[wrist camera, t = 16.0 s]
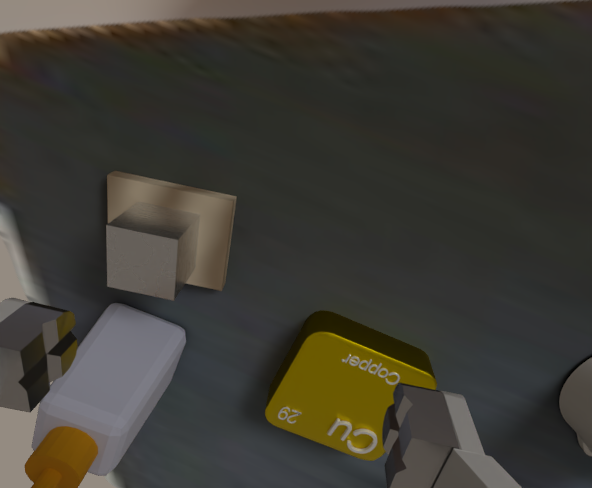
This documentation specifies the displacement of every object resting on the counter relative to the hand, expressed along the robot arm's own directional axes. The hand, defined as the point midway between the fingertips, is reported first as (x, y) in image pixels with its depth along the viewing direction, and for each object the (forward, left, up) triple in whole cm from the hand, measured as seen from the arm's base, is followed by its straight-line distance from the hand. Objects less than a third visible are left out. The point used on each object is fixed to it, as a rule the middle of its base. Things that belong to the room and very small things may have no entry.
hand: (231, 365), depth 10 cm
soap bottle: (+15, +29, -29) cm, 43 cm away
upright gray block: (+12, +11, -27) cm, 32 cm away
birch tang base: (+12, +11, -29) cm, 33 cm away
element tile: (-10, +26, -29) cm, 40 cm away
